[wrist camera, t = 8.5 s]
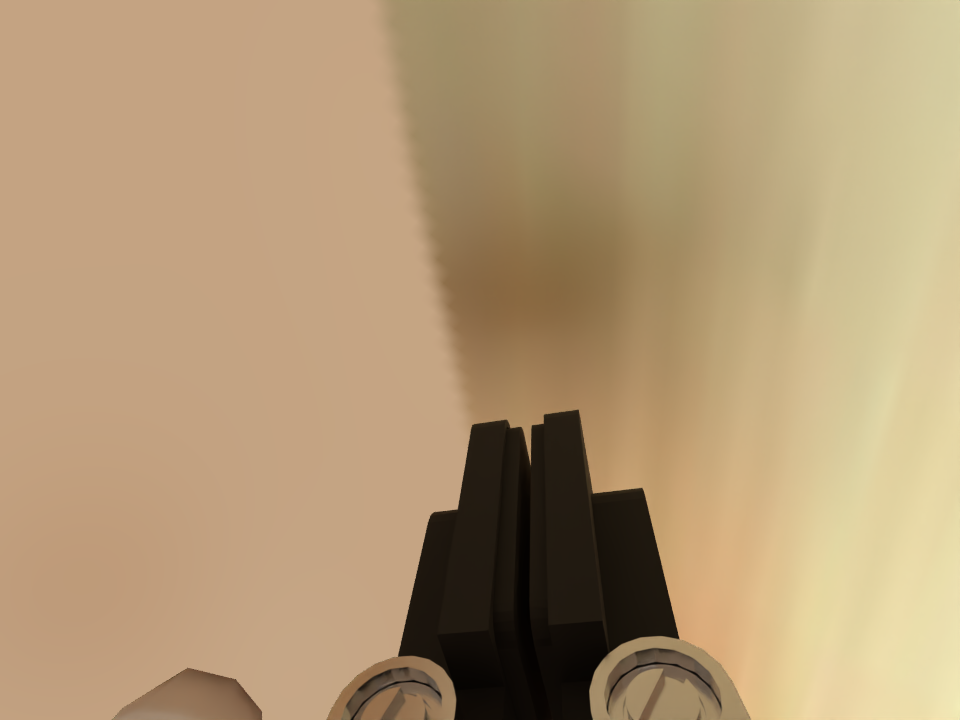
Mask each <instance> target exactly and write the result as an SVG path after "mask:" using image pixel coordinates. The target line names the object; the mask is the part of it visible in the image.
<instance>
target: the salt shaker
mask: <svg viewBox="0 0 960 720" xmlns="http://www.w3.org/2000/svg"><path fill="white" fill-rule="evenodd" d="M112 720H262V711H261V710H260V709H259V707H258V706H257V705H256V704H255V703H254V701H253V700H252V699H251V698H250V696H249V695H248V694H247V693H246V692H245V690H244V689H243V688H242V687H241V686H240V684H239V683H238V682H237V681H236V679H232V678H227V677H223V676H219V675H215V674H210V673H207V672H203V671H198V670H194V669H190V668H187V669H185V670H184V671H182V672H180V673H179V674H177V675H176V676H174V677H172V678H171V679H169V680H167V681H166V682H164V683H162V684H161V685H159V686H157V687H156V688H154V689H153V690H151V691H150V692H148V693H146V694H145V695H143V696H142V697H140V698H138V699H137V700H135V701H133V702H132V703H131V704H129V705H127V706H125V707H124V708H122V709H121V710H120V711H119V713H118V714H117V715H116V716H115V717H114V718H113V719H112Z"/></svg>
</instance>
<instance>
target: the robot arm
mask: <svg viewBox="0 0 960 720" xmlns="http://www.w3.org/2000/svg"><path fill="white" fill-rule="evenodd" d="M327 720H751V718H750V716H749V714H748V712H747V710H746V708H745V706H744V704H743V702H742V700H741V698H740V696H739V693H738V691H737V689H736V687H735V685H734V683H733V681H732V680H731V678H730V677H729V676H728V674H727V673H726V671H725V670H724V668H723V667H722V665H721V664H720V663H719V662H718V661H716V660H715V659H714V658H713V657H712V656H710V655H709V654H708V653H707V652H706V651H704V650H703V649H701V648H699V647H697V646H695V645H692V644H690V643H688V642H686V641H684V640H680V639H679V635H678V631H677V627H676V623H675V619H674V615H673V610H672V606H671V602H670V598H669V594H668V590H667V585H666V581H665V577H664V573H663V569H662V565H661V561H660V556H659V552H658V548H657V544H656V540H655V536H654V531H653V527H652V523H651V519H650V515H649V511H648V506H647V502H646V498H645V494H644V491H643V488H637V489H629V490H620V491H612V492H603V493H595V494H593V491H592V485H591V479H590V473H589V467H588V461H587V455H586V449H585V443H584V437H583V431H582V426H581V420H580V414H579V410H573V411H566V412H559V413H552V414H545V415H544V424H539V425H532V429H531V465H530V460H529V456H528V451H527V446H526V442H525V437H524V433H523V429H522V427H517V428H510V425H509V423H508V421H507V420H501V421H494V422H487V423H480V424H474V425H472V428H471V434H470V440H469V446H468V452H467V458H466V464H465V470H464V476H463V482H462V488H461V494H460V500H459V506H458V510H450V511H442V512H434V513H433V514H432V515H431V516H430V519H429V522H428V525H427V530H426V534H425V539H424V543H423V548H422V553H421V557H420V561H419V565H418V570H417V574H416V579H415V583H414V588H413V592H412V597H411V601H410V605H409V610H408V614H407V619H406V624H405V628H404V632H403V637H402V641H401V646H400V650H399V654H398V657H393V658H390V659H387V660H385V661H382V662H379V663H376V664H374V665H373V666H371V667H370V668H368V669H367V670H365V671H363V672H362V673H360V674H359V675H357V676H356V677H355V678H354V679H353V680H352V681H351V682H350V683H349V684H348V686H346V687H345V688H344V689H343V691H342V692H341V694H340V695H339V697H338V699H337V700H336V702H335V704H334V705H333V707H332V709H331V711H330V713H329V715H328V717H327Z"/></svg>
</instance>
